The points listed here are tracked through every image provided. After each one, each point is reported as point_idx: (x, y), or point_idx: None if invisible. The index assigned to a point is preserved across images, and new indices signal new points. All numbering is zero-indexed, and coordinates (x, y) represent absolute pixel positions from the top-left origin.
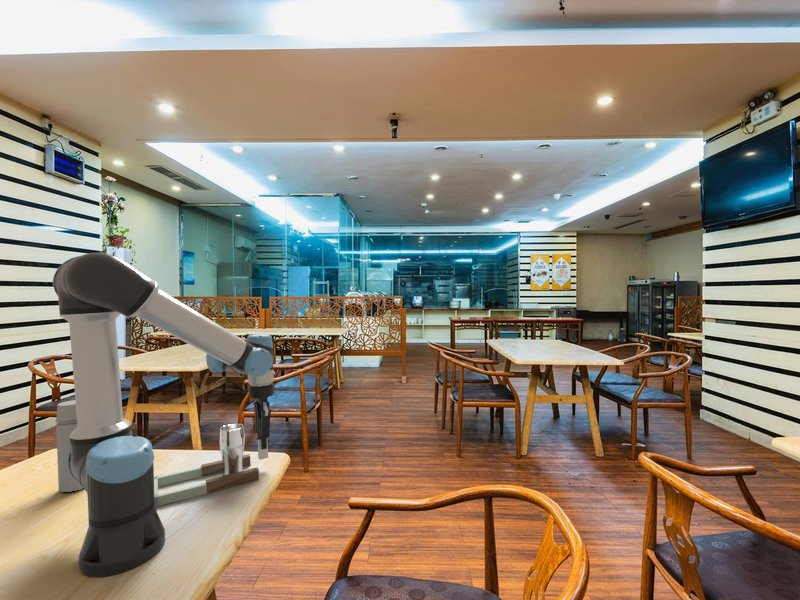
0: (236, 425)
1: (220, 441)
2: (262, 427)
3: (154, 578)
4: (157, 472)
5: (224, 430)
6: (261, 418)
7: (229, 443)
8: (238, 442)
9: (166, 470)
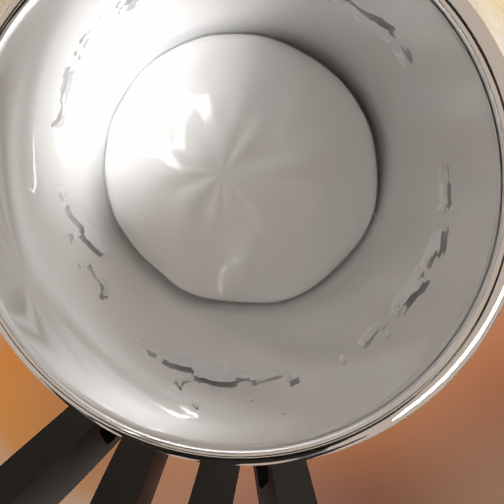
0: (346, 404)
1: (211, 9)
2: (44, 430)
3: (4, 4)
4: (498, 19)
5: (431, 104)
6: (12, 484)
7: (94, 103)
8: (91, 203)
9: (501, 38)
